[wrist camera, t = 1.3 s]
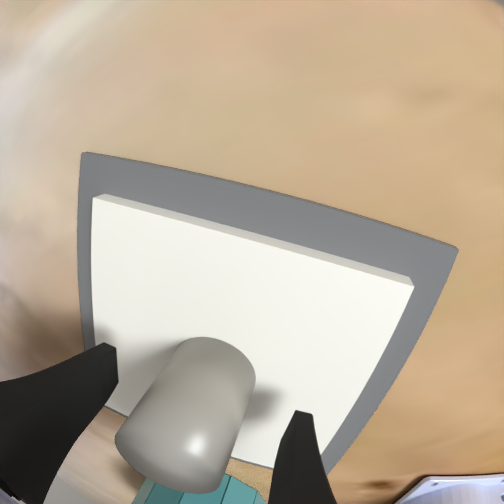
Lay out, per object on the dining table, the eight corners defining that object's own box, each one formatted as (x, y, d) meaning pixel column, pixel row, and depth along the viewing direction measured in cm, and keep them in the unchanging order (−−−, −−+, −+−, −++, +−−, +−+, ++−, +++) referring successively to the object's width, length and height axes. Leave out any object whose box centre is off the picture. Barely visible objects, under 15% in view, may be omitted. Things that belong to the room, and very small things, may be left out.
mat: (455, 246, 10) (459, 250, 10) (323, 474, 16) (322, 480, 15) (87, 151, 12) (81, 152, 12) (96, 396, 18) (93, 400, 17)
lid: (409, 277, 10) (460, 389, 5) (307, 464, 15) (291, 552, 10) (104, 193, 12) (-10, 236, 7) (110, 395, 17) (57, 462, 11)
